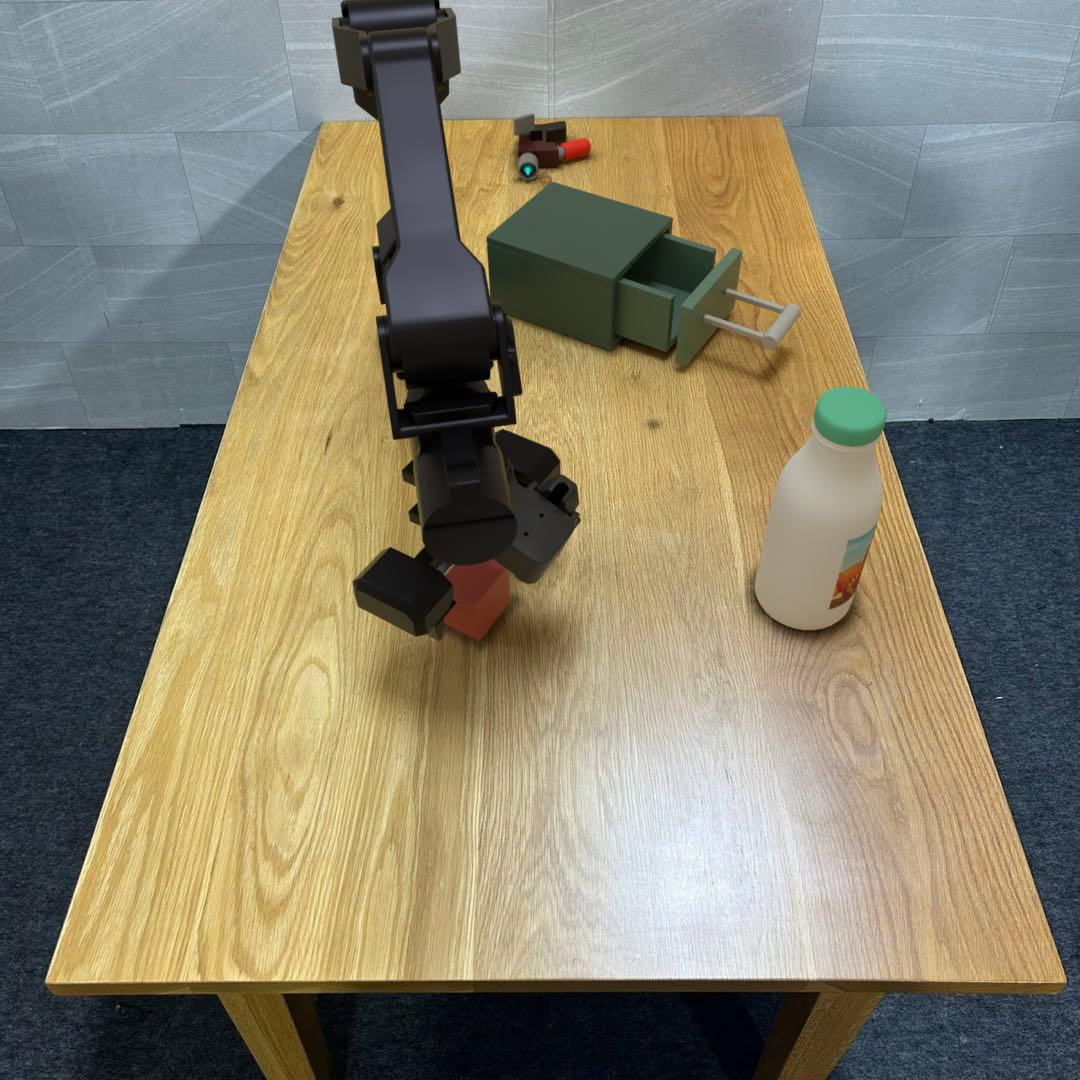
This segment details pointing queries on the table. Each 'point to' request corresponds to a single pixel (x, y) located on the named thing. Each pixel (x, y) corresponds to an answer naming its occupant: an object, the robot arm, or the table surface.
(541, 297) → the cabinet
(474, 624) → the block
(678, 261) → the drawer
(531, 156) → the toy gun
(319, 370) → the table surface
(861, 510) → the milk bottle
